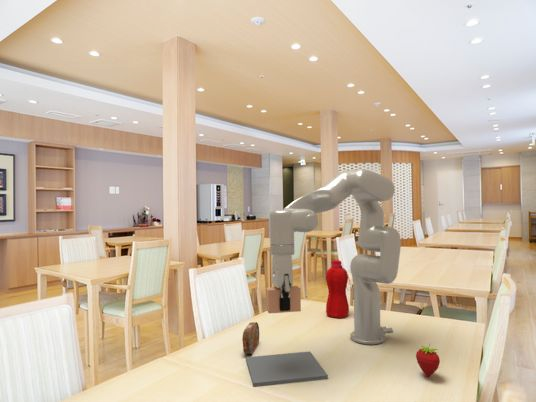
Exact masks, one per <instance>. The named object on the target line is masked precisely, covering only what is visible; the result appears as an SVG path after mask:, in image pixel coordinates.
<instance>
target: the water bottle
mask: <svg viewBox="0 0 536 402" xmlns="http://www.w3.org/2000/svg"><path fill="white" fill-rule="evenodd" d="M330 264H331V267H329V268H328V269H327V271H326V273H325V281H326V286H327V289H328V290H327V291H328V295H327V301H326V304H325V305H326V306H325V313H326V316H328V317H329V318H335V319H344V318H345V317H347V316H349V312H350V309H349V308H350V305H349V301H348V297H347V291H349V292H350V289H351V288H352V287H351V284H349V289H348V285H347V284H348V281H349V283H351V280H350V277H349V274H348V271H347V270H346V269H345V268H344V267H343V265H342V260H339V259H334V260H331V262H330Z"/></svg>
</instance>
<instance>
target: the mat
mask: <svg viewBox="0 0 536 402" xmlns="http://www.w3.org/2000/svg"><path fill="white" fill-rule="evenodd" d="M245 362H246V366H247V369H248V372H249V376H250V380H251V382H252V387H262V386H263V387H264V386H273V385H274V386H275V385H282V384H291V383H299V382H309V381H319V380H329V377H328V376H329V375H328V373H326V371H325V370H324V368H323V367H322V365H321V364H320V363H319V361H318V360H317V358H316V357H315V356H314V354H313V353H312V352H311V350H309V351H299V352H290V353H289V352H288V353H279V354H269V355H268V354H267V355H256V356H246V357H245Z"/></svg>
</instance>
